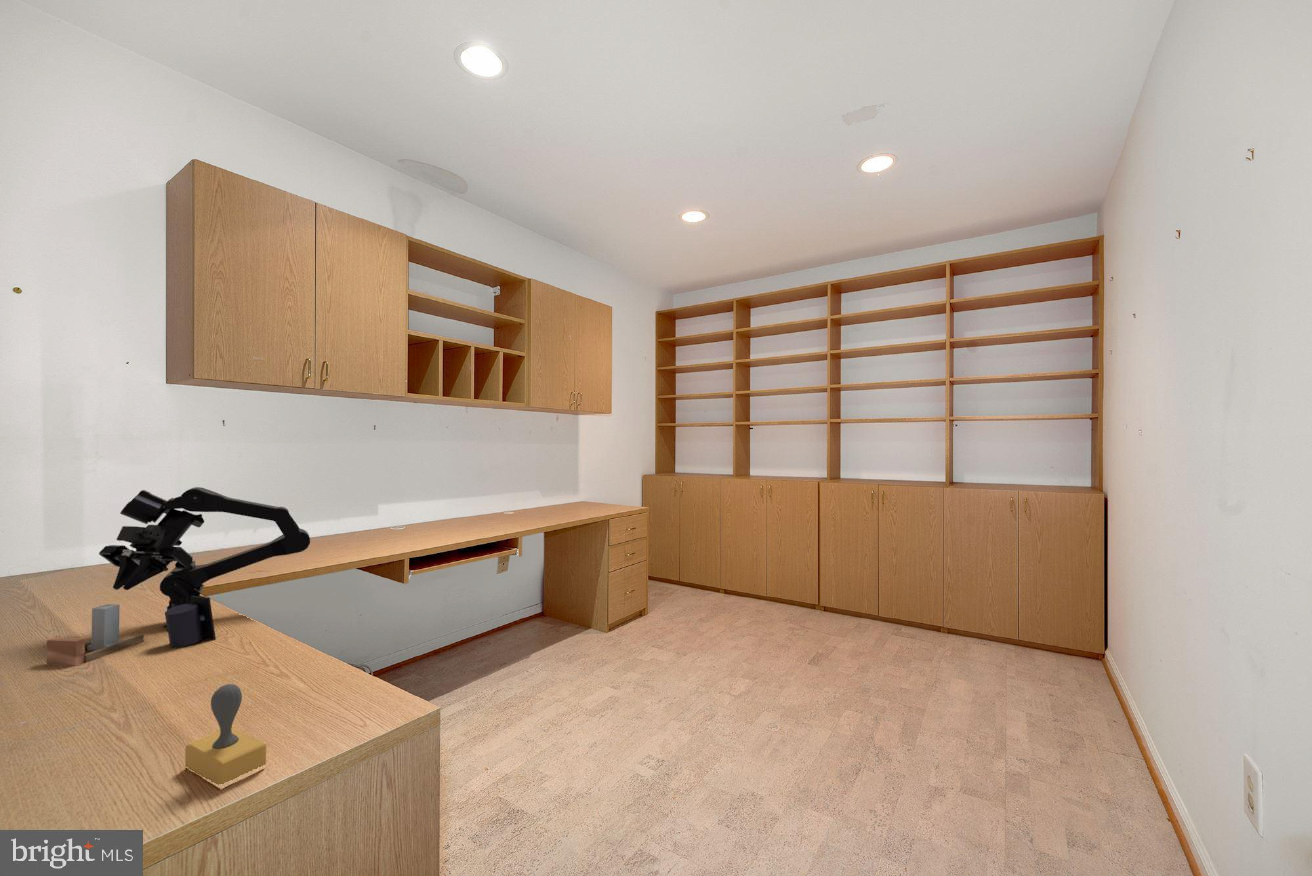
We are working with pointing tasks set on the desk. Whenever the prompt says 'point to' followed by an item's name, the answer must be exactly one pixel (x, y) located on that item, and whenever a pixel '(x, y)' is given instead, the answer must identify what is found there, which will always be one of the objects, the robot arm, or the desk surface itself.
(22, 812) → the desk surface
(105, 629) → the sliding block
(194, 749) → the rubber stamp
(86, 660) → the guide track
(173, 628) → the speaker
